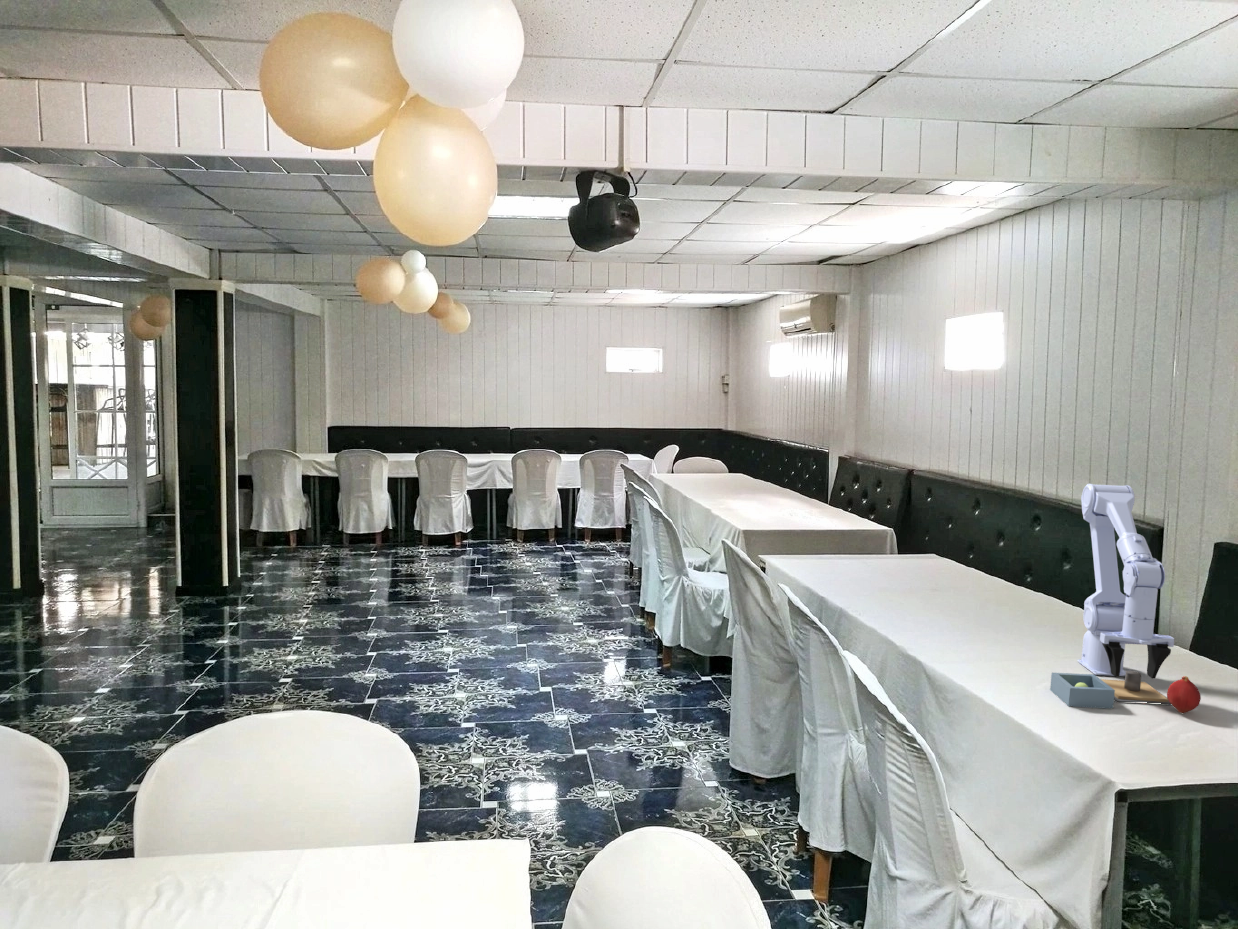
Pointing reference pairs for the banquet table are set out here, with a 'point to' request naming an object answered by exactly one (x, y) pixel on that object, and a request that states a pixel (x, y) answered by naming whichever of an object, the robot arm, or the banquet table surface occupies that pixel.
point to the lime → (1081, 685)
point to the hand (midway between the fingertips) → (1132, 676)
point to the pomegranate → (1183, 695)
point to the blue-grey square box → (1082, 690)
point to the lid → (1134, 688)
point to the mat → (1140, 700)
